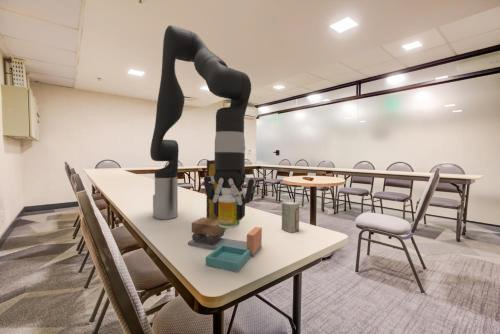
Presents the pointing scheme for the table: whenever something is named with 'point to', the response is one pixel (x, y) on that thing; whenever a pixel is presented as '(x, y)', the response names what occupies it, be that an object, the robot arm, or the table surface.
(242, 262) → the cradle
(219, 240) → the rail
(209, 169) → the book
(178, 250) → the table surface
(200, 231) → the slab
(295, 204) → the skincare box
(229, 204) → the supplement bottle
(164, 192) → the robot arm
